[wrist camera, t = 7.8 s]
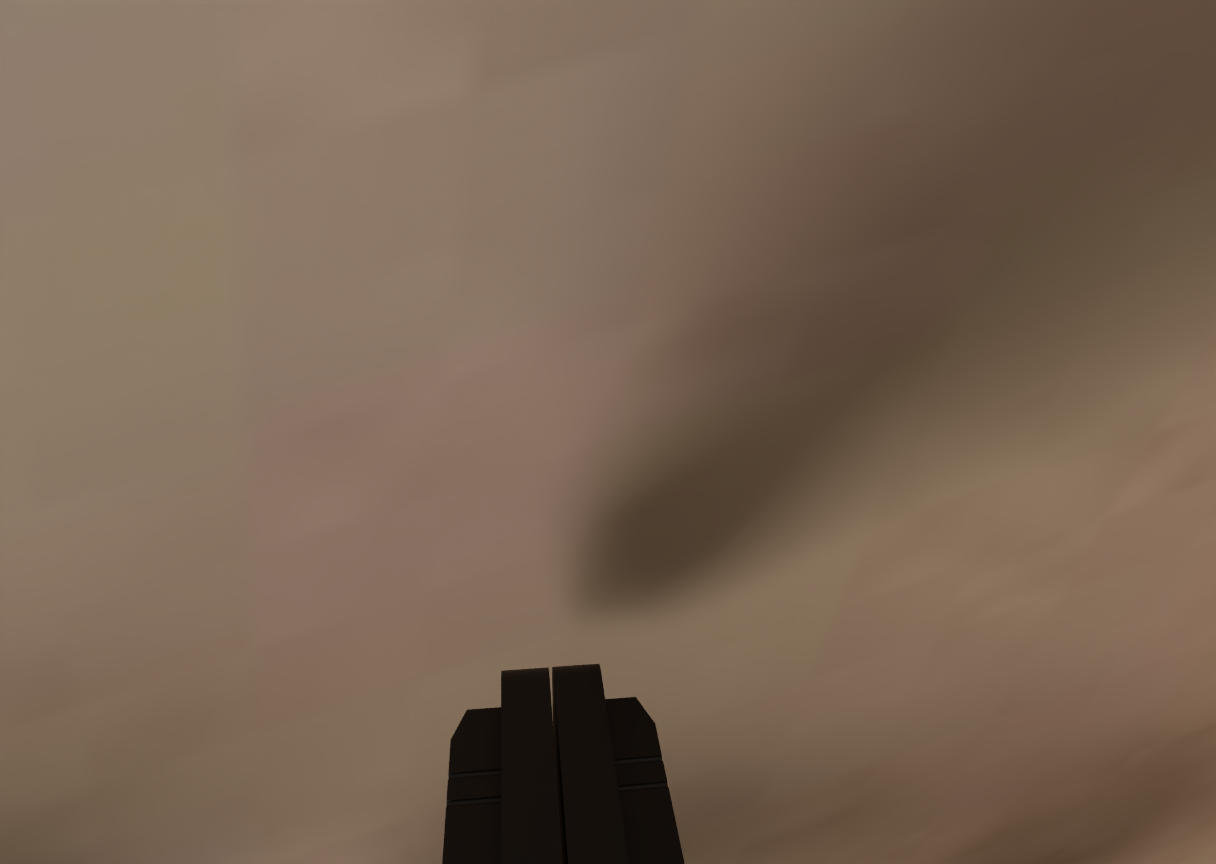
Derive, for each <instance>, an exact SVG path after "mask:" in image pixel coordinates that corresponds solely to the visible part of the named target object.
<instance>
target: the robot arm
mask: <svg viewBox="0 0 1216 864" xmlns="http://www.w3.org/2000/svg"><path fill="white" fill-rule="evenodd" d="M552 692H553V721H552V707H551V692H550V678H549V668H535V669H521V670H506V671H502V673H501V707H499V708H485V709H472V710H467V711H466V713H465V714H464V716H463V718H462V720H461V722H460V724H459V726H458V727H457V729H456V731H455V733H454V735H453V737H452V738H451V744H450V759H449V780H448V789H447V808H446V818H445V833H444V848H443V863H442V864H684V859H683V854H682V849H681V845H680V840H679V835H678V830H677V826H676V821H675V816H674V811H673V807H672V802H671V797H670V792H669V788H668V786H667V778H666V773H665V769H664V764H663V761H662V754H661V750H660V745H659V740H658V735H657V731H656V726H655V723H654V721H653V720H652V719H651V717H650V716H649V715H648V713H647V712H646V710H645V709H644V708H643V706H642V705H641V704H640V702H639V701H638V700H637V698H636V697H630V698H617V699H605V696H604V689H603V682H602V675H601V669H600V665H599V664H590V665H575V666H561V667H552Z"/></svg>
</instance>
